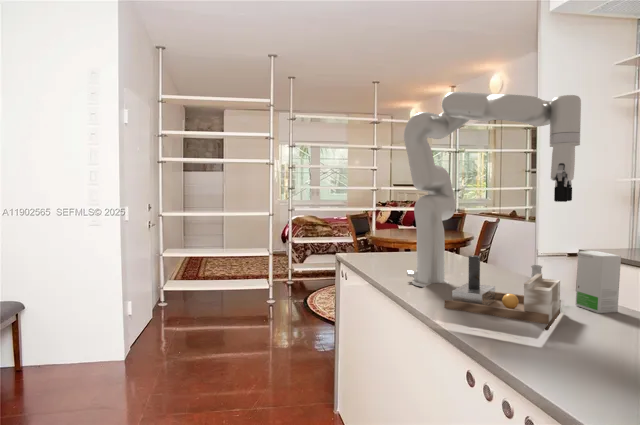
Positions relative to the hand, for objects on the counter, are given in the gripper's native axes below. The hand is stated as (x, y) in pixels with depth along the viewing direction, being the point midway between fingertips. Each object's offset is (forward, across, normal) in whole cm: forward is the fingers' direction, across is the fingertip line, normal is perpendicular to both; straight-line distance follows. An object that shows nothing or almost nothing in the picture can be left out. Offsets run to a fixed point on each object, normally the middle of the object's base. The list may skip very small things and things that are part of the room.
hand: (563, 201), depth 124 cm
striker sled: (+28, +19, -19) cm, 39 cm away
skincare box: (+30, 0, +9) cm, 31 cm away
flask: (+30, -4, -7) cm, 31 cm away
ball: (+26, +19, -10) cm, 34 cm away
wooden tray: (+30, +19, -12) cm, 37 cm away
